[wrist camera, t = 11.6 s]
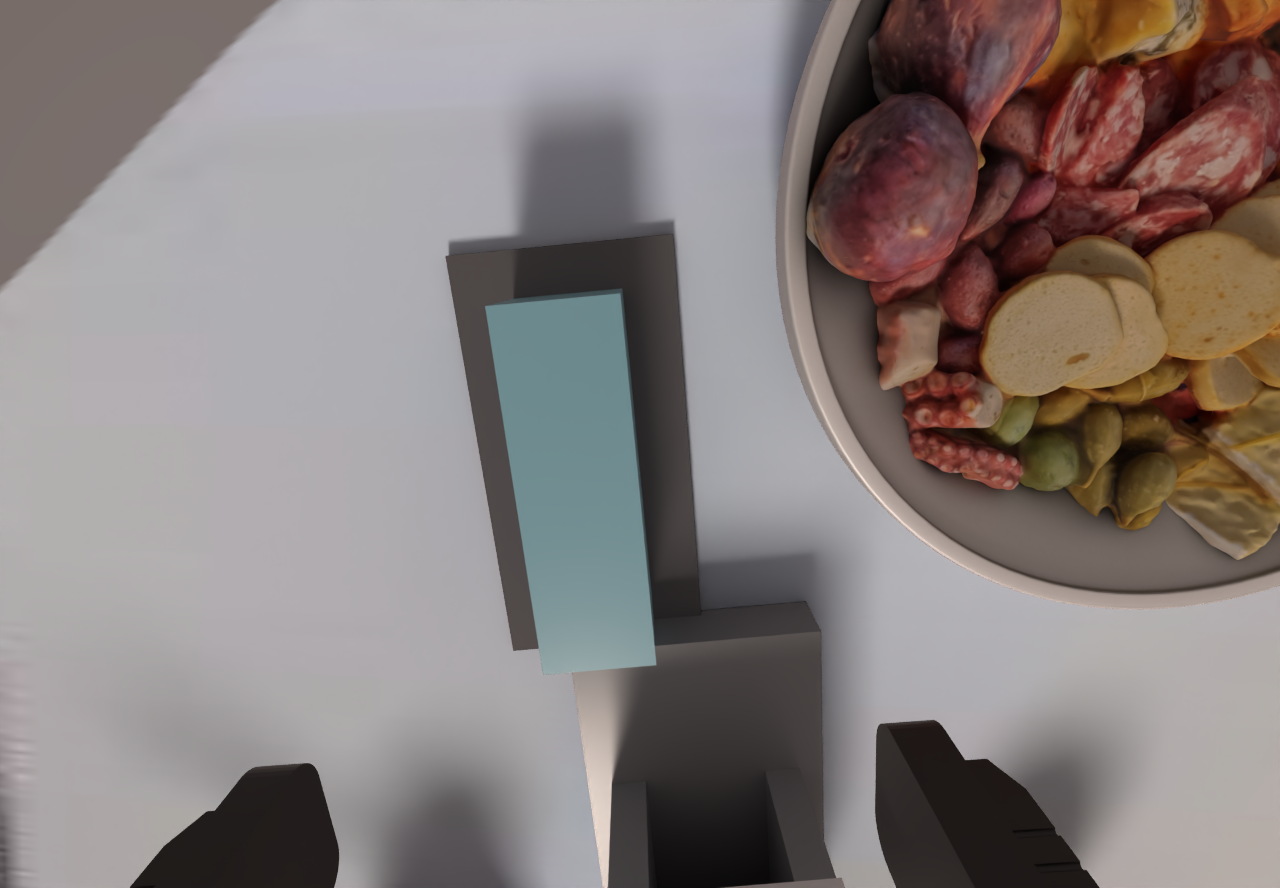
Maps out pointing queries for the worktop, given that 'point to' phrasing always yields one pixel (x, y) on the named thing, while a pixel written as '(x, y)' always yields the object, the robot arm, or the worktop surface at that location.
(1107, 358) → the bowl
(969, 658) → the worktop surface
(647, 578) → the teal rectangular slab
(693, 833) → the dispenser
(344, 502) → the worktop surface
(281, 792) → the robot arm
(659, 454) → the mat
